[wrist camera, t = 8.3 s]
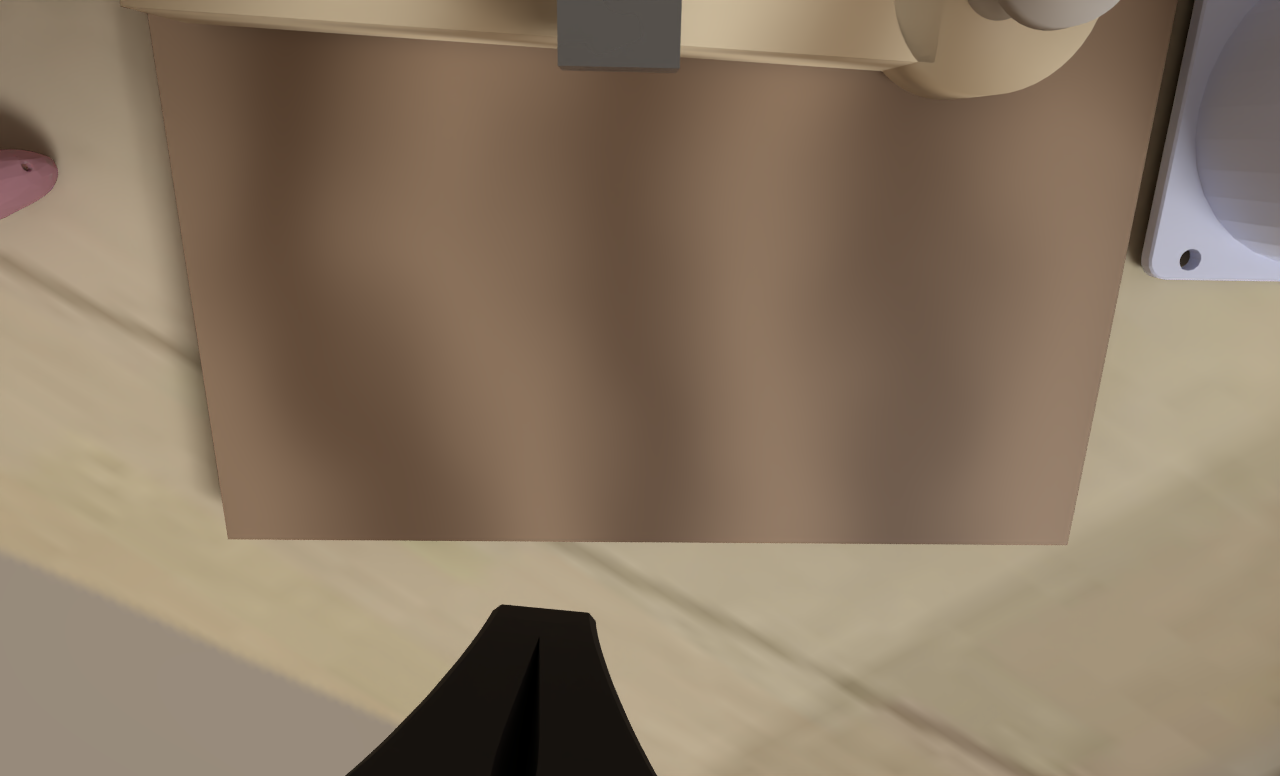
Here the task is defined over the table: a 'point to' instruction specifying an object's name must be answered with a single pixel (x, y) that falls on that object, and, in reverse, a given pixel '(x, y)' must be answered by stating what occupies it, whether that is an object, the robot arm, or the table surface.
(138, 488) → the table surface
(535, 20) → the wooden link
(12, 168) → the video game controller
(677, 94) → the walnut board
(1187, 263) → the robot arm
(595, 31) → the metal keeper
